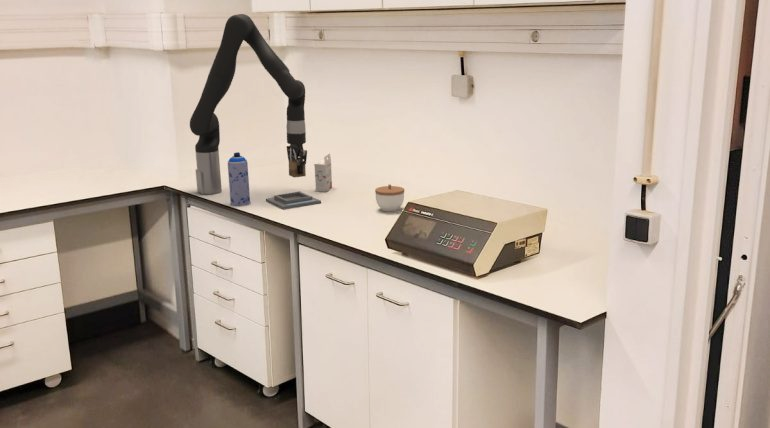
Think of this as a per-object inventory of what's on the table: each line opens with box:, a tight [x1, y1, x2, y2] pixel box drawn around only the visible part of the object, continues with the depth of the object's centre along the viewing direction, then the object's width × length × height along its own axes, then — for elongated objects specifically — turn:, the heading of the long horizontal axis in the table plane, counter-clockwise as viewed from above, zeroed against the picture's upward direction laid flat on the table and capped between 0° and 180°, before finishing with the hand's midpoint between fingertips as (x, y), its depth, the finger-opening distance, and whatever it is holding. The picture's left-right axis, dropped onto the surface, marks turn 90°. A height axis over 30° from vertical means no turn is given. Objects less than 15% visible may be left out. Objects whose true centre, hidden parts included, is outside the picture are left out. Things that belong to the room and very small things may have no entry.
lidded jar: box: [375, 184, 405, 213], centre depth 263 cm, size 11×11×9 cm
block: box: [288, 160, 306, 178], centre depth 288 cm, size 5×5×6 cm
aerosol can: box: [227, 151, 252, 207], centre depth 274 cm, size 8×8×20 cm
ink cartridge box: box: [313, 153, 333, 193], centre depth 296 cm, size 9×5×15 cm, turn 168°
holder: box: [265, 190, 322, 210], centre depth 277 cm, size 16×16×2 cm
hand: (297, 172), depth 289 cm, fingers closed on block, 5 cm apart
